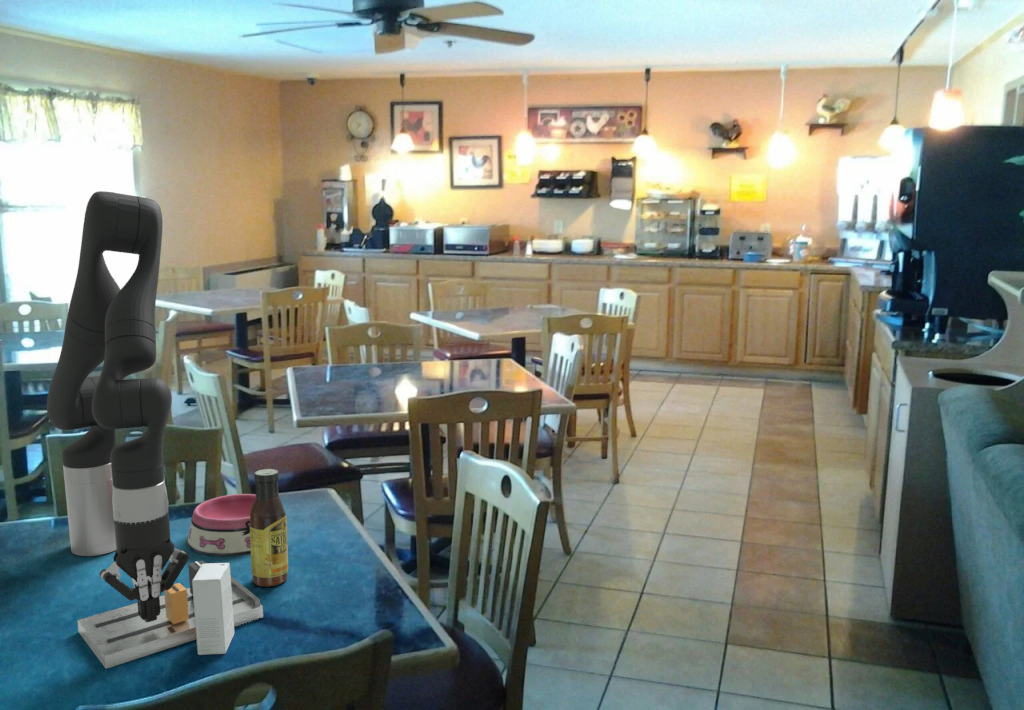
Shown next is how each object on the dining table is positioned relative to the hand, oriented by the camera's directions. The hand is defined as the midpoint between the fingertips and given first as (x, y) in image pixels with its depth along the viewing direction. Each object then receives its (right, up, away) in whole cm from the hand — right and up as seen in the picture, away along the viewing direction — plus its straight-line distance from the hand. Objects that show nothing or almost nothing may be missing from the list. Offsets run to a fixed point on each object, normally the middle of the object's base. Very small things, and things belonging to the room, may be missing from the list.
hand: (149, 619), depth 133 cm
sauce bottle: (+13, 0, +22) cm, 25 cm away
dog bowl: (+1, +4, +41) cm, 41 cm away
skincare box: (+10, -4, 0) cm, 11 cm away
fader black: (+4, +1, +11) cm, 12 cm away
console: (+1, -3, +6) cm, 6 cm away
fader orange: (+3, -1, +3) cm, 4 cm away
